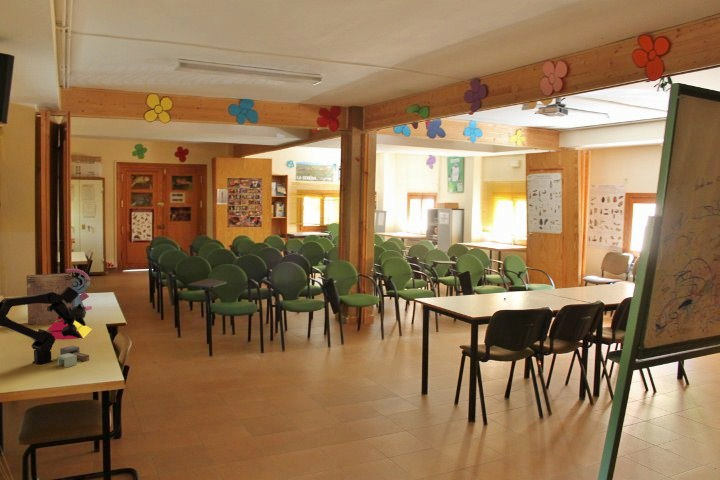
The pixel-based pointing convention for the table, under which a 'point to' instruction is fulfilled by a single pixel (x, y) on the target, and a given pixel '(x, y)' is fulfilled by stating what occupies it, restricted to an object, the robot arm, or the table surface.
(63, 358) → the sage green end cap
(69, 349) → the charcoal end cap
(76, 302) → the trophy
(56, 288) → the book
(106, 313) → the table surface
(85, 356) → the walnut rail
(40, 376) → the table surface
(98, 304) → the table surface
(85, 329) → the pyramid toy
